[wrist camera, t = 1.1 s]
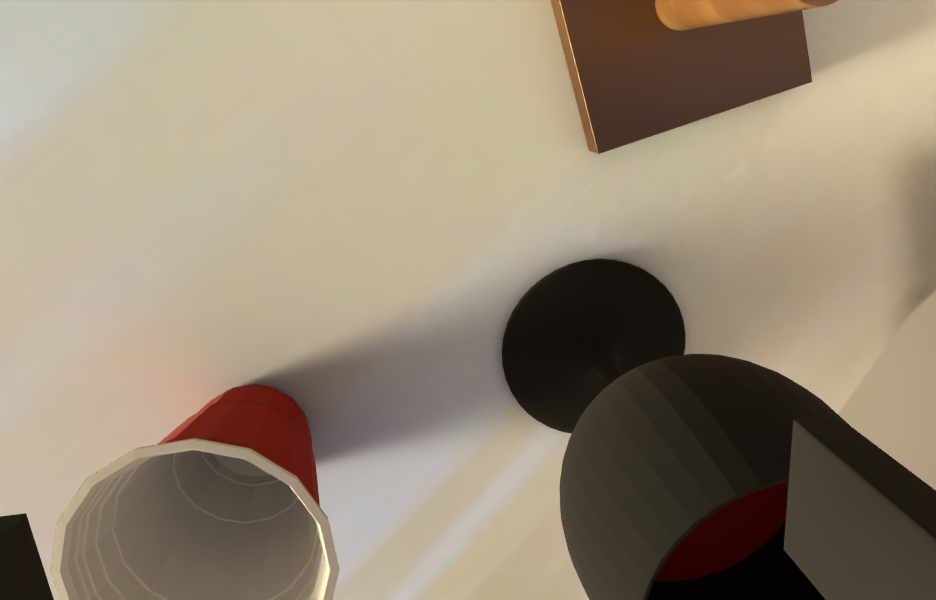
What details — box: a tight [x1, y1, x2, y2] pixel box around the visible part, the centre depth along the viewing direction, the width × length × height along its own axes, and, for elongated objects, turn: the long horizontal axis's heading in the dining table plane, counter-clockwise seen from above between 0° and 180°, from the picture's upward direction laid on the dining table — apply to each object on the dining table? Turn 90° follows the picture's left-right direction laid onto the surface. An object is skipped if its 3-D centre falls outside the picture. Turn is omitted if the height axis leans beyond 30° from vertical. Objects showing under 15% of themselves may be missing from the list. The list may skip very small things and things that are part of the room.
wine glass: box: [502, 259, 850, 600], centre depth 29 cm, size 10×10×20 cm
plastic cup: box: [50, 384, 339, 600], centre depth 32 cm, size 11×11×12 cm
